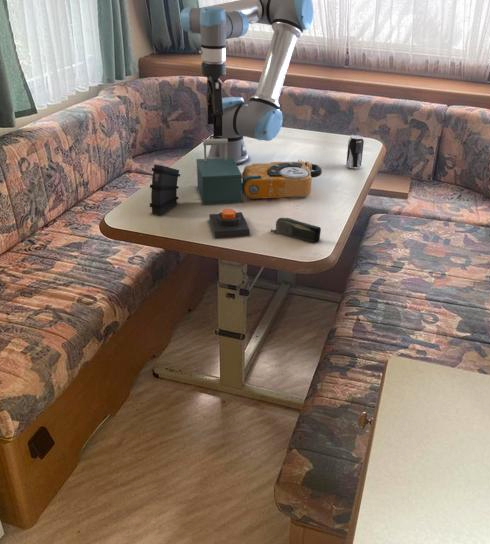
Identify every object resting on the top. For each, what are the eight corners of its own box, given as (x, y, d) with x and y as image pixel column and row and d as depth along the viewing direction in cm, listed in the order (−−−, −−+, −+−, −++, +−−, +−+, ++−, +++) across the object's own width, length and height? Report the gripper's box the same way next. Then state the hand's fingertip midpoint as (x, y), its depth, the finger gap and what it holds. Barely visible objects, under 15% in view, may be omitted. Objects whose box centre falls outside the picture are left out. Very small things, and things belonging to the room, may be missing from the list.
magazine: (144, 213, 175) (152, 164, 173) (165, 215, 187) (173, 169, 186) (155, 215, 174) (163, 165, 172) (175, 217, 186) (183, 171, 185)
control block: (209, 220, 176) (209, 208, 174) (241, 218, 178) (241, 206, 176) (215, 238, 166) (214, 225, 164) (249, 235, 168) (249, 223, 166)
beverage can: (348, 163, 225) (351, 133, 219) (362, 165, 224) (365, 135, 218) (344, 168, 221) (347, 137, 215) (359, 170, 219) (362, 139, 213)
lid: (196, 161, 195) (195, 137, 191) (233, 159, 198) (232, 136, 194) (202, 179, 181) (201, 153, 177) (241, 176, 184) (241, 151, 180)
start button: (221, 214, 171) (220, 209, 170) (234, 213, 172) (234, 208, 171) (223, 220, 168) (223, 214, 167) (236, 219, 169) (236, 214, 168)
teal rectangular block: (197, 186, 199) (196, 162, 194) (233, 184, 202) (233, 160, 197) (203, 204, 186) (202, 179, 181) (241, 202, 189) (241, 177, 184)
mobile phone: (322, 225, 165) (274, 213, 170) (318, 229, 163) (270, 217, 167) (320, 240, 167) (273, 228, 172) (316, 245, 165) (269, 232, 170)
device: (236, 155, 204) (319, 153, 208) (236, 177, 208) (317, 175, 213) (242, 178, 185) (333, 176, 189) (242, 202, 189) (331, 199, 193)
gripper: (196, 54, 188) (198, 119, 198) (206, 70, 167) (208, 141, 177) (219, 54, 189) (220, 119, 200) (232, 69, 168) (232, 140, 179)
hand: (214, 129), depth 189 cm, fingers open, 13 cm apart
